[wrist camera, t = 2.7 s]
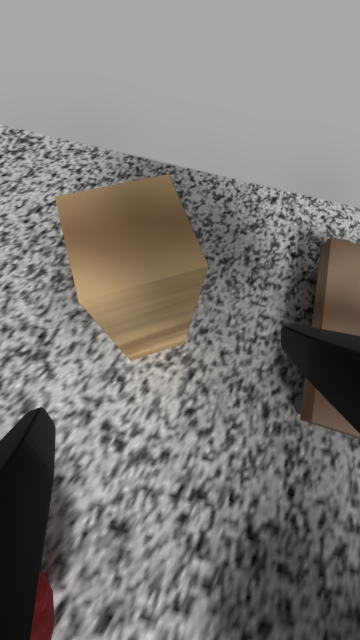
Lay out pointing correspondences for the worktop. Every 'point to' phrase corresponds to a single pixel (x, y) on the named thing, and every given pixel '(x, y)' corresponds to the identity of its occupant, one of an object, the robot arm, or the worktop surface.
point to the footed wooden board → (333, 322)
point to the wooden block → (134, 262)
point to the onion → (43, 611)
